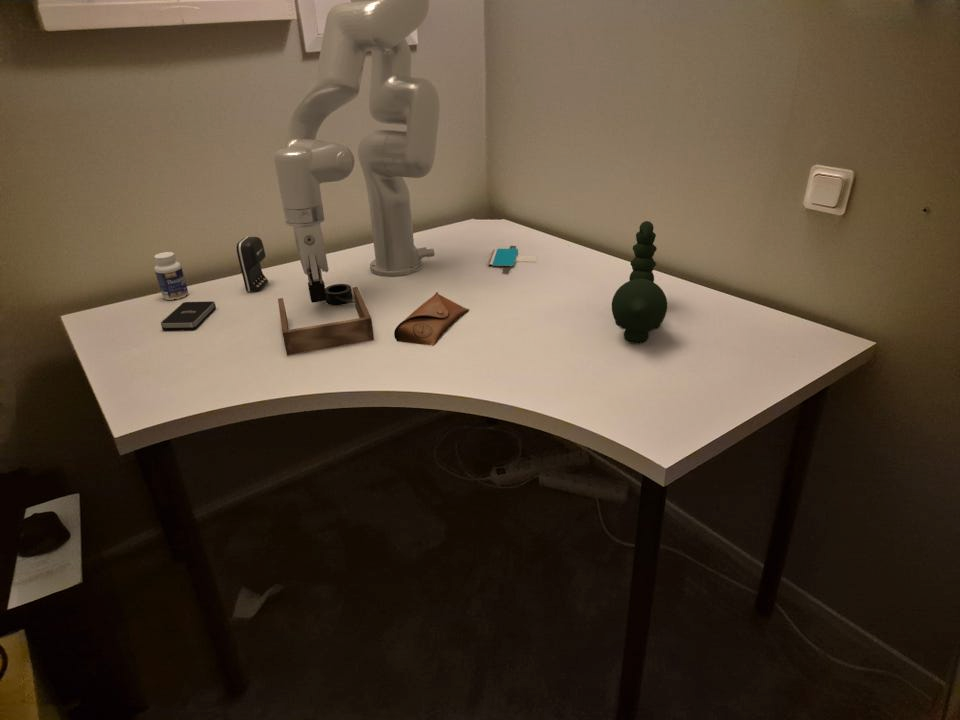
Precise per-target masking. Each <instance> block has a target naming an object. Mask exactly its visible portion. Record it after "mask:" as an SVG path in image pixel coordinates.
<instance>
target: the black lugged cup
mask: <svg viewBox="0 0 960 720" xmlns="http://www.w3.org/2000/svg"><path fill="white" fill-rule="evenodd" d="M325 292H326V298H327V300H326V301H325V303H326V304H327V305H329V306H335V307H336V306H337V307H338V306H344V305H347V304H353V303H355V300H354V295H353V288H352V286H351V285H350V284H348V283H336V284H331V285H327V287H325Z"/></svg>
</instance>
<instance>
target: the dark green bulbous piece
mask: <svg viewBox="0 0 960 720" xmlns="http://www.w3.org/2000/svg"><path fill="white" fill-rule="evenodd" d="M656 237H657V235H656V233H655V232H654V224H653V222H651V221H649V220H646V221H642V222H641V223H640V225H639V230H638V232H636V233H635V239H636V243H635V244H634V245H633V246H632V250H633V254H634V256H635V257H633V259H632V260H631V261H630V266H631V268H632V271H631V272H630V274H629V279H628V280H629V281H626V282H625V283H623V284H622V285H620V286H619V288H617V290H616V292H615V293H614V295H613V298H612V300H611V312H612V317H613V319H614V322H615V325H616V326H618V327H621V328H622V329H623V330H624V331H623V338H624V340H625V341H626V342H628V343H630V344H639V345H640V344H645V343H646V342H647V341H648V340H649V337H650V331H654V330H657V329H659V328H660V327H661V324H662V323H663V321H664V319H665V317H666V315H667V312H668V299H667V296H666V293H665V292H664V290H663V289H662V288H661V287H660V286H659V285H658V284H657V283H655V275H654V273H653V271H654V269H655V268H656V266H657V263H656V261H655V259H654V258H653V257H654V255H655V252H656V251H657V249H658V248H657V246H656V245H655V244H654V243H655V240H656Z"/></svg>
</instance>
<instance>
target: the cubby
mask: <svg viewBox="0 0 960 720" xmlns="http://www.w3.org/2000/svg"><path fill="white" fill-rule="evenodd" d="M352 294H353V301H355V302H354V306H355V310H356V312H357V315H358V318H353V319H346V320H341V321H334V322H328V323H322V324H317V325H316V324H315V325H310V326H304V327H298V328H291V329H290V328H289V323H288V316H287V312H286V307H285V302H284V301H285V300H284V298H283V297H280V298H277V303H278V310H279V318H280V319H279V320H280V326H281V334H282V338H283V344H284V349H285V354H286V356H291V355H298V354H304V353H310V352H315V351H321V350H325V349H326V350H327V349H332V348H336V347H337V348H338V347H342V346H343V347H344V346H348V345H350V346H351V345H355V344H361V343H366V342H372V341H375V336H374V335H375V334H374V326H373V321H372V316H371V314H370V311H369V308H368V307H367V305H366V302H365V300H364V298H363V296H362V294H361V292H360V289H359V286H353V287H352Z"/></svg>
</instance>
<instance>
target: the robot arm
mask: <svg viewBox="0 0 960 720" xmlns="http://www.w3.org/2000/svg"><path fill="white" fill-rule="evenodd" d="M429 8H430V1H429V0H350V1H348V2H341V3H338V4H335V5H334V6H332V7H331V8H330V10H329V11H328V13H327V15H326V19H325V24H324V30H323V35H322V41H321V46H320V52H319V58H318V64H317V65H318V66H317V71H316V75H315V79H314V82H313V84H312V85H311V87H310V88H309V89H308V90H307V91H306V92H305V93H304V95H303V96H302V97H301V99H300V101H299V103H298V104H297V105H296V106H295V108H294V110H293V112H292V113H291V116H290V118H289V121H288V125H287V129H286V130H287V131H286V137H285V140H284V141H285V143H284V148H281V149H279V150H277V151H276V152H275V153H274V156H273V160H274V161H273V162H274V166H275V172H276V178H277V183H278V188H279V195H280V199H281V204H282V209H283V210H282V211H283V214H284V220H285V225H287V226H289V227H292V230H293V235H294V239H295V244H296V248H297V254H298V257H299V261H300V264H301V267H302V270H303V273H304V274H305V275H306V276H307V280H308V282H307V286H308V292H309V298H310V302H311V303H313V304H314V303H319V302H320V303H321V302H326V300H327V298H326V292H325V288H326V287H325V282H324V280H323V275H322V272H325V273H328V272H329V266H328V265H329V264H328V259H327V252H326V247H325V240H324V235H323V230H322V226H321V224H322V223H323V222H324V221H325V219H326V218H325V212H324V206H323V201H322V194H321V186H320V185H321V184H324V183H332V182H333V183H334V182H340V181H343V180H345V179H346V178H348V177H349V176H350V175H351V173H352V172H353V170H354V167H355V157H354V155H353V152H352V150H351V148H349V147H348V146H347V145H346V144H345V143H342V142H339V141H333V140H323V139H317V135H318V132H319V129H320V127H321V125H322V124H323V122H324V121H325V120H326V118H327V117H329V116H330V115H331V114H332V113H334V112H335V111H337V110H338V109H340V108H342V107H344V106H345V105H347V104H348V103H350V102H352V101H353V100H354V99H356V98H357V97H358V95H359V93H360V88H361V84H362V76H363V71H364V66H365V62H366V61H365V60H366V55H367V52H371V65H370V67H371V69H370V78H369V81H370V82H369V83H370V84H369V93H368V94H369V95H368V109H369V113H370V114H369V115H371V117H372V118H373V120H375V121H376V122H379V123H380V124H381V123H382V124H388V125H399V126H400V125H402V126H406V130H404V131H403V130H393V129H374V130H371V131H368V132H366V133H365V134H364V135H363V136H362V137H361V138H360V140H359V142H358V147H357V156H358V161H359V165H360V168H361V171H362V173H363V178H364V181H365V185H366V192H367V198H368V199H367V200H368V207H369V215H370V216H369V217H370V223H371V224H370V226H371V233H372V242H373V248H374V256H375V257H374V258H375V259H373V260H372V261H371V262H370V263H369V270H370V271H371V272H372V273H373V274H376V275H380V276H386V277H387V276H389V277H390V276H391V277H394V276H395V277H398V276H405V275H408V274H411V273H415V272H416V271H418V270H420V269H421V268H422V267H423V260H422V259H423V258H430V257H432V258H433V257H435V249H434V248H432V247H431V248H428V247H427V246H425V247H419V248H418V247H416V246H415V242H414V240H415V239H414V229H413V220H412V219H413V218H412V217H413V216H412V207H411V205H412V204H411V196H410V191H409V188H408V185H407V183H406V181H405V178H408V179H409V178H410V179H411V178H413V179H421V178H424V177H426V176H427V175H429V174H430V172H431V170H432V169H433V166H434V162H435V156H436V150H437V139H438V129H439V119H440V107H441V106H440V98H439V94H438V90H437V88H436V86H435V85H434V84H433V83H432V82H431V81H430V80H428V79H426V78H423V77H411V75H412V51H411V48H410V45H409V44H408V41H407V39H406V38H407V37H409V36H410V35H412V33H413V32H415V31H416V30H417V29H419V27H420V26H422V24H423V23H424V21H425V20H426V18H427V15H428V13H429Z"/></svg>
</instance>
